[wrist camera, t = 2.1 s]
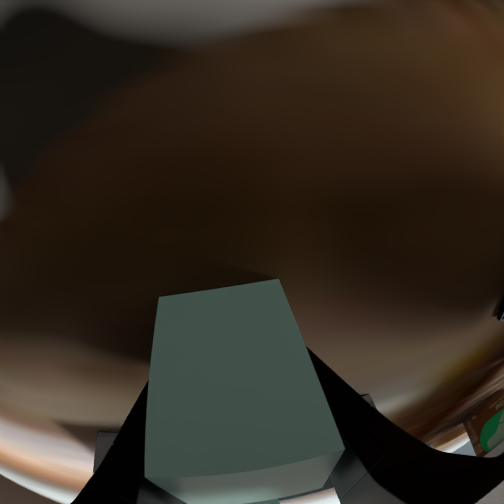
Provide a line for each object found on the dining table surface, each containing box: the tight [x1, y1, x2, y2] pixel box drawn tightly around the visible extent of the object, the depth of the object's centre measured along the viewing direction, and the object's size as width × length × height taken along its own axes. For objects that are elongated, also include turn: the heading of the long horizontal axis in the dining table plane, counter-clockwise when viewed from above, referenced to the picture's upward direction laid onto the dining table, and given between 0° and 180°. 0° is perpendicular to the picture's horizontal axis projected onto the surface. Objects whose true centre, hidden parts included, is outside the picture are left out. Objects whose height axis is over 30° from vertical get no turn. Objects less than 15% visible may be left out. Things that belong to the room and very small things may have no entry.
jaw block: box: [145, 279, 345, 504], centre depth 8 cm, size 4×4×6 cm
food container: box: [463, 388, 504, 457], centre depth 25 cm, size 12×6×10 cm, turn 105°
